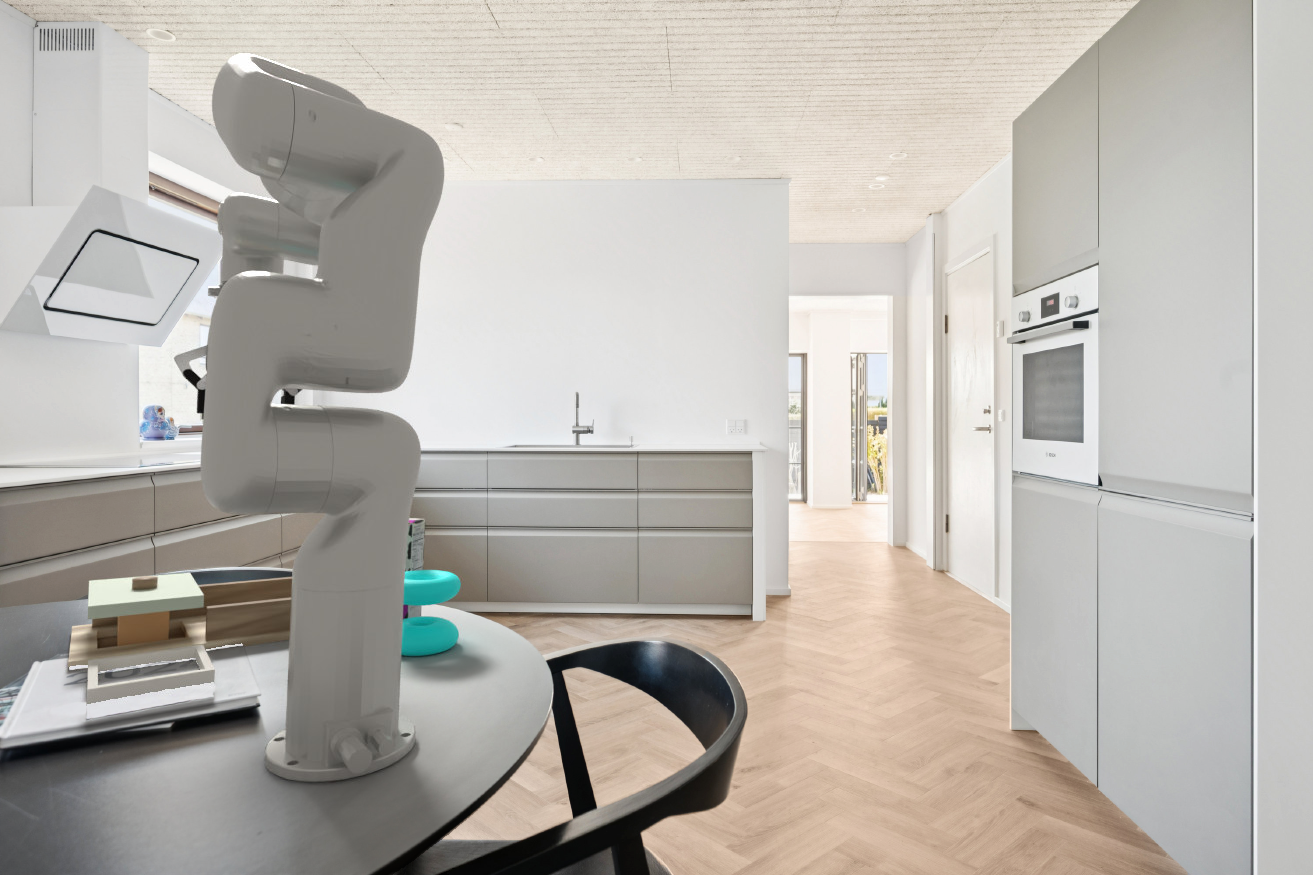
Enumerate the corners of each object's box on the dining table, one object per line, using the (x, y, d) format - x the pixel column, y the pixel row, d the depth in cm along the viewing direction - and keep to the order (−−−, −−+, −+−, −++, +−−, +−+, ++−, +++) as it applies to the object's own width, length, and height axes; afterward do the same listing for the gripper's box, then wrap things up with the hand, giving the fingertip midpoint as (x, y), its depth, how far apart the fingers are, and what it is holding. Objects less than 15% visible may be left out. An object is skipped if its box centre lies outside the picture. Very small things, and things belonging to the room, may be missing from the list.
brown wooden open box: (328, 644, 93) (330, 596, 93) (67, 684, 75) (69, 625, 75) (299, 616, 106) (301, 574, 106) (71, 645, 88) (73, 594, 88)
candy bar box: (336, 626, 101) (340, 517, 101) (354, 617, 106) (358, 514, 106) (407, 631, 100) (412, 521, 100) (422, 622, 105) (426, 517, 105)
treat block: (168, 643, 86) (169, 604, 86) (118, 649, 83) (119, 609, 83) (164, 633, 90) (166, 596, 90) (117, 639, 87) (118, 600, 87)
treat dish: (213, 696, 73) (214, 669, 73) (86, 719, 67) (87, 689, 67) (201, 669, 81) (202, 644, 81) (87, 687, 75) (88, 659, 75)
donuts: (414, 565, 99) (474, 571, 97) (411, 633, 99) (472, 641, 97) (368, 578, 90) (433, 585, 87) (365, 653, 90) (430, 662, 87)
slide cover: (203, 607, 84) (204, 585, 84) (87, 619, 77) (88, 595, 77) (189, 583, 96) (190, 564, 96) (88, 591, 89) (89, 571, 89)
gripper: (179, 286, 87) (173, 418, 87) (324, 307, 98) (319, 424, 98) (175, 294, 93) (169, 418, 93) (312, 313, 104) (307, 423, 104)
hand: (246, 421), depth 96 cm, fingers open, 9 cm apart
